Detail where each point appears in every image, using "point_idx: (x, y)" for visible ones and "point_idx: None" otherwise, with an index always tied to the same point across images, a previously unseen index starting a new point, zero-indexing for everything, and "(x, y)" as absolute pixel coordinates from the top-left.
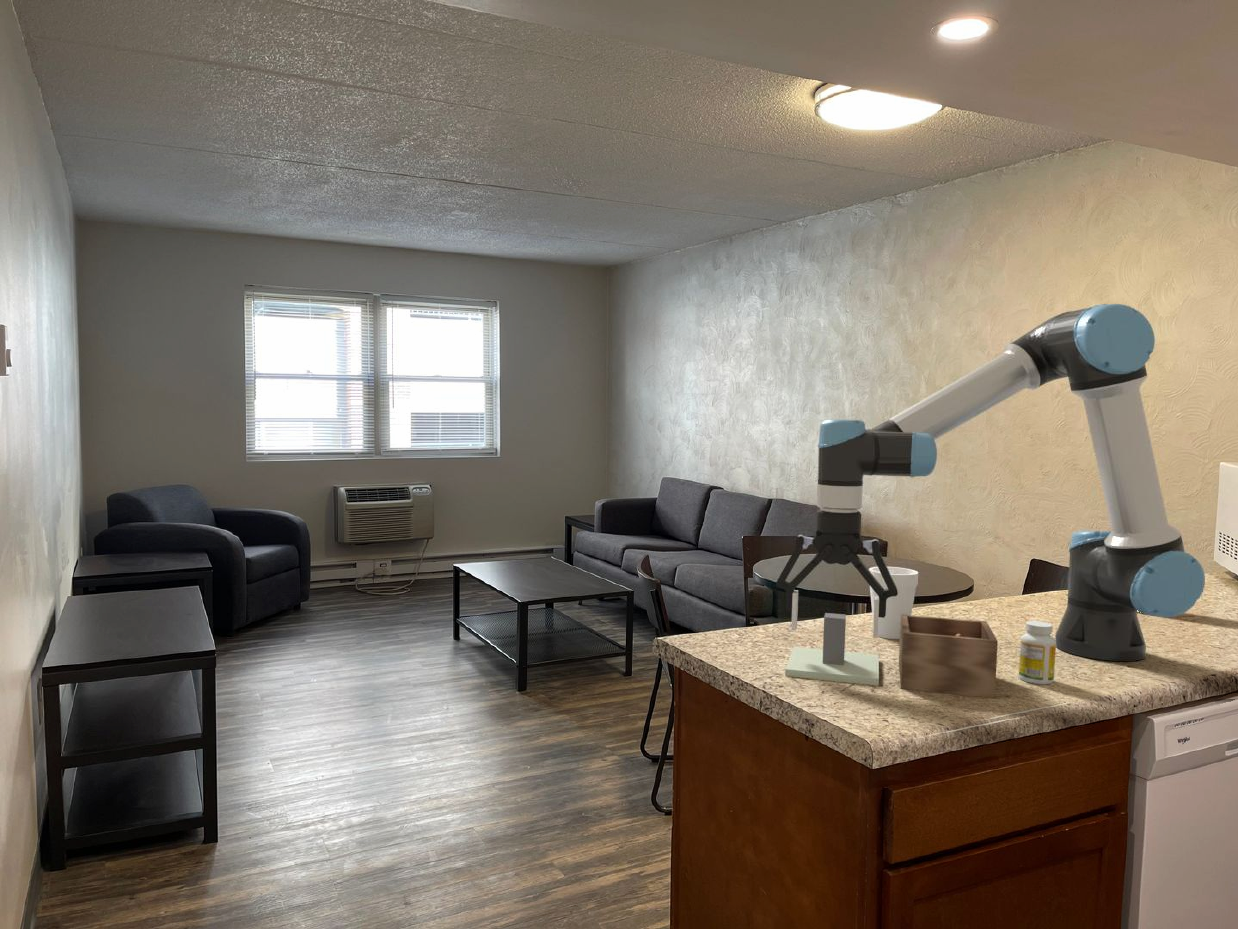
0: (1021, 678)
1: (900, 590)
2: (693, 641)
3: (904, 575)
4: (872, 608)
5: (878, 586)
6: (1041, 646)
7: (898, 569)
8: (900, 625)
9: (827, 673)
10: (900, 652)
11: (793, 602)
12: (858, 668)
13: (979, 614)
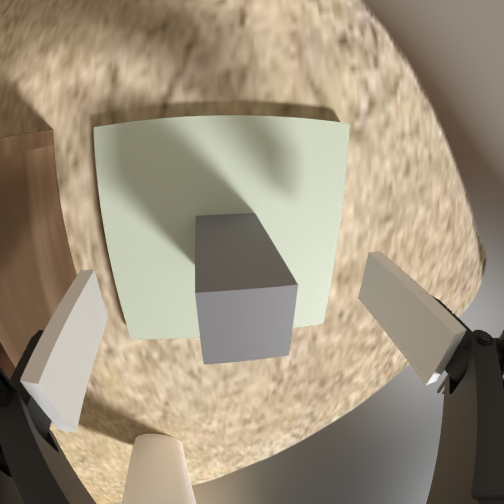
0: None
1: (137, 501)
2: (456, 297)
3: None
4: (187, 476)
5: (6, 446)
6: None
7: None
8: None
9: (236, 115)
10: (47, 275)
11: (438, 306)
12: (152, 202)
13: (104, 486)
